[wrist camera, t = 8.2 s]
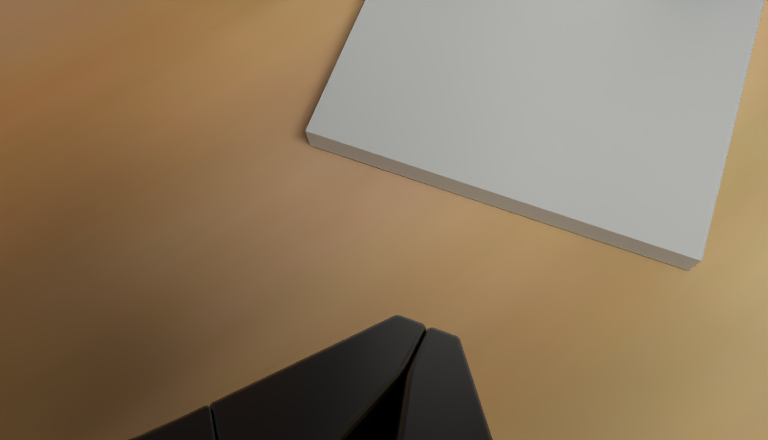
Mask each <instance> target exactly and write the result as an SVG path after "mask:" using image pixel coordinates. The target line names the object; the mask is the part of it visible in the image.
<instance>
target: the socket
mask: <svg viewBox="0 0 768 440" xmlns="http://www.w3.org/2000/svg"><path fill="white" fill-rule="evenodd" d="M763 4H764V0H365V2H364V4H363V6H362V8H361V11H360V13H359V15H358V17H357V19H356V22H355V24H354V26H353V28H352V30H351V32H350V35H349V37H348V39H347V41H346V43H345V46H344V48H343V50H342V52H341V54H340V56H339V59H338V61H337V63H336V65H335V67H334V70H333V72H332V74H331V76H330V78H329V80H328V83H327V85H326V87H325V89H324V91H323V94H322V96H321V98H320V100H319V102H318V104H317V107H316V109H315V111H314V113H313V115H312V118H311V120H310V122H309V124H308V126H307V128H306V134H307V138H308V141H309V144H310V145H311V146H314V147H317V148H320V149H323V150H326V151H329V152H332V153H335V154H338V155H341V156H344V157H347V158H350V159H353V160H356V161H359V162H362V163H365V164H368V165H371V166H374V167H377V168H380V169H383V170H386V171H389V172H392V173H395V174H398V175H401V176H404V177H407V178H410V179H413V180H416V181H419V182H422V183H425V184H428V185H431V186H434V187H437V188H440V189H443V190H446V191H449V192H452V193H455V194H458V195H461V196H464V197H467V198H470V199H473V200H476V201H479V202H482V203H486V204H489V205H492V206H495V207H498V208H501V209H504V210H507V211H510V212H513V213H516V214H519V215H522V216H525V217H528V218H531V219H534V220H537V221H540V222H543V223H546V224H549V225H552V226H555V227H558V228H561V229H564V230H567V231H570V232H573V233H576V234H579V235H582V236H585V237H588V238H591V239H594V240H597V241H600V242H603V243H606V244H609V245H612V246H615V247H618V248H621V249H624V250H627V251H630V252H633V253H636V254H639V255H642V256H645V257H648V258H651V259H654V260H657V261H660V262H663V263H667V264H670V265H673V266H676V267H679V268H682V269H685V270H688V271H689V270H690V269H692V268H693V267H694V266H696V265H697V264H698V263H700V262H701V261H702V257H703V253H704V249H705V245H706V241H707V237H708V232H709V228H710V224H711V220H712V216H713V212H714V207H715V203H716V199H717V195H718V191H719V187H720V183H721V178H722V174H723V170H724V166H725V162H726V158H727V153H728V149H729V145H730V141H731V137H732V133H733V129H734V124H735V120H736V116H737V112H738V108H739V104H740V99H741V95H742V91H743V87H744V83H745V79H746V75H747V70H748V66H749V62H750V58H751V54H752V50H753V46H754V41H755V37H756V33H757V29H758V25H759V21H760V16H761V12H762V8H763Z"/></svg>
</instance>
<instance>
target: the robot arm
mask: <svg viewBox="0 0 768 440" xmlns="http://www.w3.org/2000/svg"><path fill="white" fill-rule="evenodd" d="M129 440H492V436H491V433H490V430H489V427H488V424H487V421H486V418H485V415H484V412H483V409H482V406H481V403H480V400H479V397H478V394H477V390H476V387H475V384H474V381H473V378H472V375H471V372H470V369H469V366H468V363H467V360H466V357H465V354H464V351H463V348H462V344H461V341H460V339H459V338H458V337H457V336H455V335H452V334H449V333H447V332H444V331H441V330H438V329H436V328H429V329H427V331H426V327H425V326H424V325H423V324H422V323H419V322H416V321H414V320H411V319H408V318H405V317H403V316H400V315H396V316H393V317H391V318H389V319H386V320H384V321H382V322H380V323H378V324H376V325H374V326H372V327H370V328H368V329H366V330H363V331H361V332H359V333H357V334H355V335H353V336H351V337H349V338H347V339H345V340H342V341H340V342H338V343H336V344H334V345H332V346H330V347H328V348H326V349H324V350H321V351H319V352H317V353H315V354H313V355H311V356H309V357H307V358H305V359H303V360H300V361H298V362H296V363H294V364H292V365H290V366H288V367H286V368H284V369H282V370H280V371H277V372H275V373H273V374H271V375H269V376H267V377H265V378H263V379H261V380H259V381H256V382H254V383H252V384H250V385H248V386H246V387H244V388H242V389H240V390H238V391H235V392H233V393H231V394H229V395H227V396H225V397H223V398H221V399H219V400H217V401H214V402H212V403H211V404H210V407H209V406H203V407H201V408H199V409H197V410H195V411H193V412H191V413H189V414H187V415H184V416H182V417H180V418H178V419H176V420H173V421H171V422H169V423H167V424H164V425H162V426H160V427H158V428H155V429H153V430H151V431H149V432H146V433H144V434H142V435H139V436H137V437H134V438H132V439H129Z"/></svg>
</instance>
